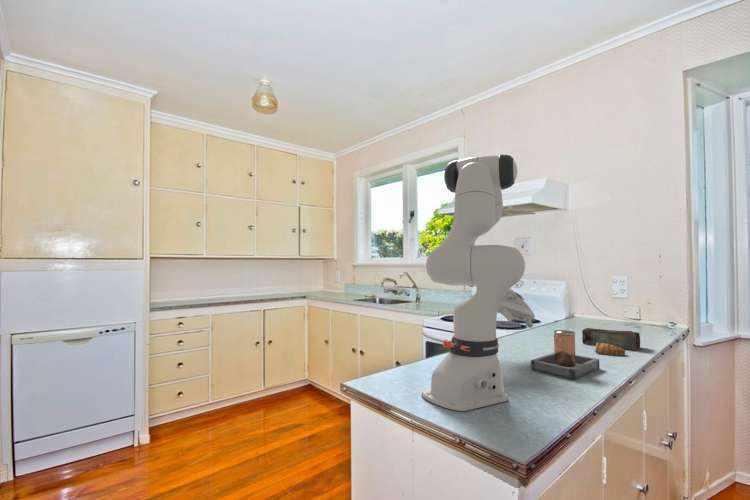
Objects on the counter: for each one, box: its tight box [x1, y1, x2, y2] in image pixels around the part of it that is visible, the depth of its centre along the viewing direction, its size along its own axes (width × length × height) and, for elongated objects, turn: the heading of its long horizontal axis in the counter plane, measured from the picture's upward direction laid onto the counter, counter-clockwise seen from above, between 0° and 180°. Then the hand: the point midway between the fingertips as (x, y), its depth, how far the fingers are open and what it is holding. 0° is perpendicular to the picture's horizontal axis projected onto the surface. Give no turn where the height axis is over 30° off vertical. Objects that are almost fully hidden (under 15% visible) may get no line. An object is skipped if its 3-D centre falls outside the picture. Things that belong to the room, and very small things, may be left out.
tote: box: [530, 352, 601, 381], centre depth 114 cm, size 18×13×3 cm
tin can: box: [553, 329, 576, 368], centre depth 115 cm, size 6×6×11 cm
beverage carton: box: [581, 327, 641, 351], centre depth 146 cm, size 8×19×7 cm, turn 48°
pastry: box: [594, 342, 626, 357], centre depth 134 cm, size 9×7×4 cm
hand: (521, 323), depth 123 cm, fingers open, 8 cm apart
